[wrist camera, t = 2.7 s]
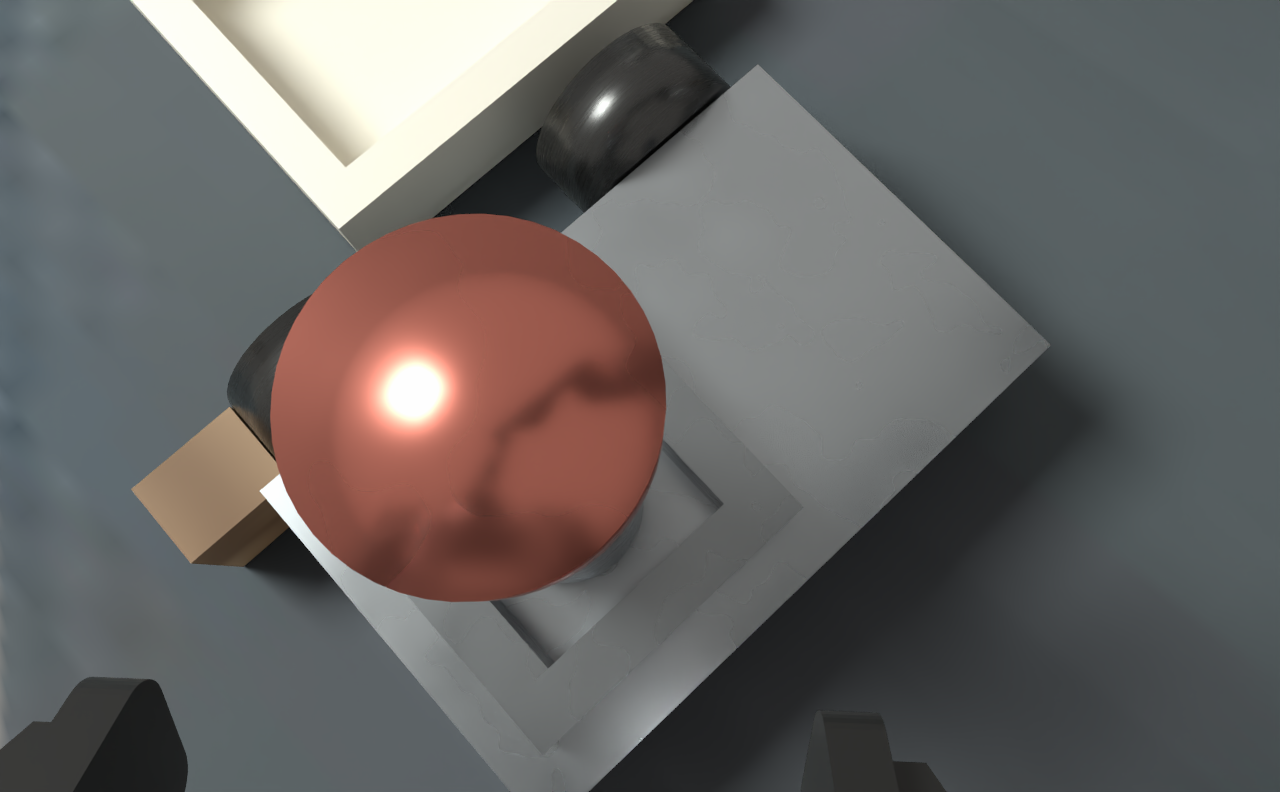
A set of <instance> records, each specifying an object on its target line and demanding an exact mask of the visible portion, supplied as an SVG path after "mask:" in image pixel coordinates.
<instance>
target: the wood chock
mask: <svg viewBox="0 0 1280 792" xmlns="http://www.w3.org/2000/svg"><path fill="white" fill-rule="evenodd" d="M279 474H280V473H279V470H278V467H277V463H276V458H275V457H274V455H273V454H272V453H271V452H270V451H269V449H268V448H267V447H266V446H265V445H264V443H263V442H262V441H261V440H260V439H259V438H258V436H257V435H256V434H255V433H254V432H253V430H252V429H251V428H250V427H249V426H248V425H247V423H246V422H245V421H244V420H243V419H242V417H241V416H240V415H239V414H238V413H237V412H236V410H235V409H233V408H231V407H229V408H228V409H227V410H225V411H224V412H223V413H222V414H221V415H219V416H218V417H217V418H216V419H215V420H213V421H212V422H211V423H210V424H209V425H207V426H206V427H205V428H204V429H203V430H201V431H200V432H199V433H198V434H197V435H195V436H194V437H193V438H192V439H191V440H190V441H188V442H187V443H186V444H185V445H184V446H182V447H181V448H180V449H179V450H178V451H176V452H175V453H174V454H173V455H172V456H170V457H169V458H168V459H167V460H166V461H164V462H163V463H162V464H161V465H160V466H158V467H157V468H156V469H155V470H154V471H152V472H151V473H150V474H149V475H148V476H147V477H145V478H144V479H143V480H142V481H141V482H139V483H138V484H137V485H136V486H135V487H133V488H132V489H131V490H132V491H133V492H134V493H135V495H136V496H137V497H138V498H139V500H140V501H141V502H142V503H143V505H144V506H145V507H146V508H147V509H148V511H149V512H150V513H151V514H152V516H153V517H154V518H155V519H156V521H157V522H158V523H159V524H160V526H161V527H162V528H163V529H164V531H165V532H166V533H167V534H168V536H169V537H170V538H171V539H172V540H173V542H174V543H175V544H176V545H177V547H178V548H179V549H180V550H181V552H182V553H183V554H184V555H185V557H186V558H187V559H188V560H189V562H190V563H193V564H208V565H224V566H239V567H244V566H245V565H246V564H247V563H248V562H250V561H251V560H252V559H253V558H254V557H255V556H257V555H258V554H259V553H260V552H261V551H262V550H263V549H265V548H266V547H267V546H268V545H269V544H270V543H271V542H273V541H274V540H275V539H276V538H277V537H278V536H280V535H281V534H282V533H283V532H284V531H285V530H286V529H288V528H289V526H288V524H287V523H286V522H285V521H284V520H283V518H282V517H281V516H280V515H279V514H278V512H277V511H276V510H275V509H274V508H273V506H272V505H271V504H270V503H269V502H268V500H267V499H266V498H265V497H264V496H263V494H262V493H261V492H260V490H261V489H263V488H264V487H265V486H266V485H267V484H268V483H270V482H271V481H272V480H273V479H274V478H275V477H277V476H278V475H279Z"/></svg>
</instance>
